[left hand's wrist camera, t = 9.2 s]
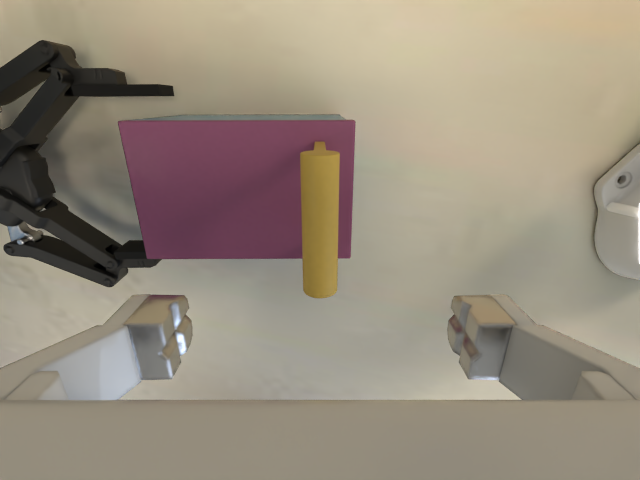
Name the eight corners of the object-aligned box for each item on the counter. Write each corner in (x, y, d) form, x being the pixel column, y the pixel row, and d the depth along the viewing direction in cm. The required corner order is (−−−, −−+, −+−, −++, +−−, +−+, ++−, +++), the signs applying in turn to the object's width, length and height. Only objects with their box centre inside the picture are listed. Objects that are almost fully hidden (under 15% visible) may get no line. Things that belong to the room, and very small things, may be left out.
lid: (353, 119, 23) (372, 128, 15) (349, 252, 27) (362, 316, 19) (126, 120, 23) (23, 129, 15) (153, 253, 27) (82, 317, 19)
